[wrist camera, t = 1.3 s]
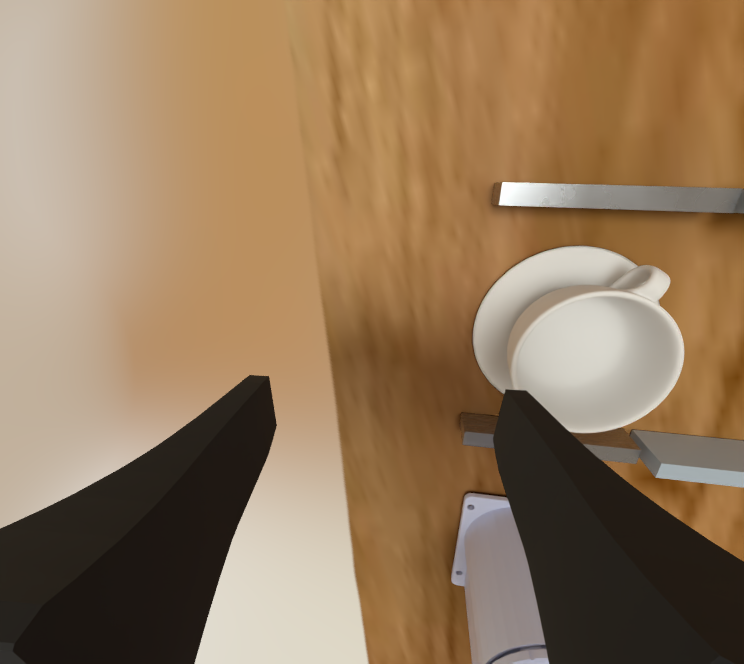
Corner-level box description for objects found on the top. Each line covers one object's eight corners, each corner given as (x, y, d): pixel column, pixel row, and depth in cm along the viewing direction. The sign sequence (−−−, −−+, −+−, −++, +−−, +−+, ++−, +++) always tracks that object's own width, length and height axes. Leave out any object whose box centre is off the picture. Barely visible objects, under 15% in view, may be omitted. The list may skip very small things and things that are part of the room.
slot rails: (619, 441, 23) (636, 463, 21) (459, 425, 24) (462, 444, 22) (708, 188, 17) (742, 188, 15) (494, 183, 18) (502, 182, 16)
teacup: (568, 429, 23) (601, 484, 19) (439, 352, 22) (443, 391, 18) (698, 305, 19) (777, 339, 15) (548, 207, 19) (586, 212, 14)
